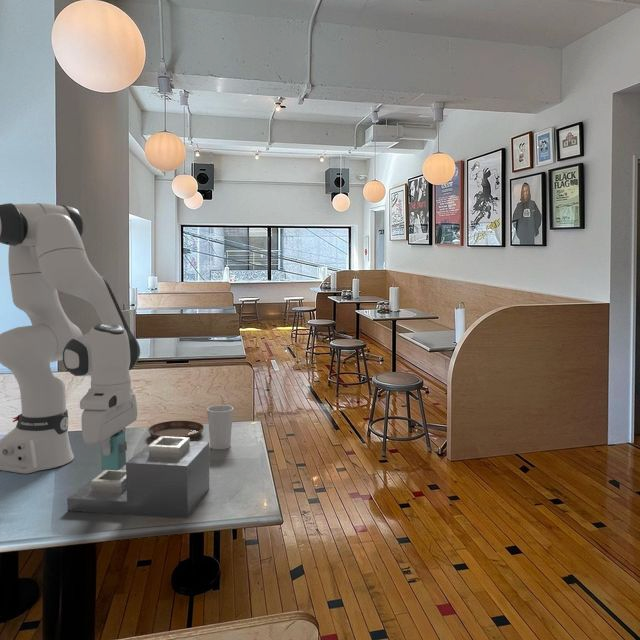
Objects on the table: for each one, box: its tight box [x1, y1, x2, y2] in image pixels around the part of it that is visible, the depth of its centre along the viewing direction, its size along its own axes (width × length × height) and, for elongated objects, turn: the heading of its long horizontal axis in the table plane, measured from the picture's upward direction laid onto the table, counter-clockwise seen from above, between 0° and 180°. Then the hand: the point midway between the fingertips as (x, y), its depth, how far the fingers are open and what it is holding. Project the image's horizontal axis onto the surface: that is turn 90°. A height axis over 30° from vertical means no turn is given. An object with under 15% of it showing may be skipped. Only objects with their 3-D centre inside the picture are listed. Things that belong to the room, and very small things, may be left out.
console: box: [66, 436, 210, 519], centre depth 126 cm, size 28×16×14 cm, turn 85°
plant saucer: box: [147, 420, 205, 441], centre depth 174 cm, size 18×18×3 cm
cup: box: [206, 404, 234, 450], centre depth 164 cm, size 8×8×12 cm
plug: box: [100, 431, 128, 471], centre depth 126 cm, size 5×4×10 cm
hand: (113, 450), depth 126 cm, fingers closed on plug, 4 cm apart
